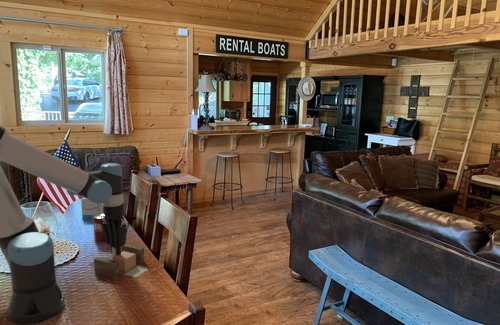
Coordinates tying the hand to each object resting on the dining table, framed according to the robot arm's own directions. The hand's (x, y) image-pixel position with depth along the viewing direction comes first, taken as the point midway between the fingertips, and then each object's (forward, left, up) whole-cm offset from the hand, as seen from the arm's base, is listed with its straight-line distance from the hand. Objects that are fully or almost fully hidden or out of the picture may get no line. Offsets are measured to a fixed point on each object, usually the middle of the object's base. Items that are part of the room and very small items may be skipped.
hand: (116, 261), depth 143 cm
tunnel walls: (0, -2, -2) cm, 3 cm away
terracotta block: (0, -4, -2) cm, 4 cm away
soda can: (+17, +25, -2) cm, 30 cm away
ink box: (+40, +56, -2) cm, 68 cm away
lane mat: (0, -1, -2) cm, 2 cm away
